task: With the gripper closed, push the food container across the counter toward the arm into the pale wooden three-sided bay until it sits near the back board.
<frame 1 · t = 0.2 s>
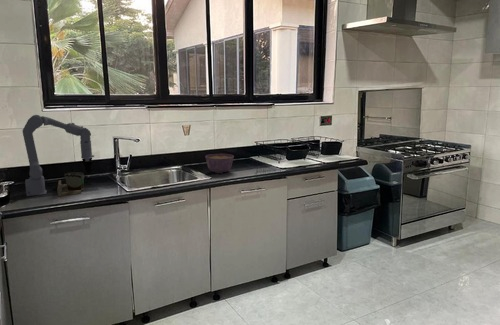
hand: (88, 171, 222), 10 cm above the worktop, tool pointing down, fingers open, 7 cm apart
food container: (78, 190, 219), on the worktop
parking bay: (70, 190, 217), on the worktop
bowl of food: (219, 172, 264), on the worktop
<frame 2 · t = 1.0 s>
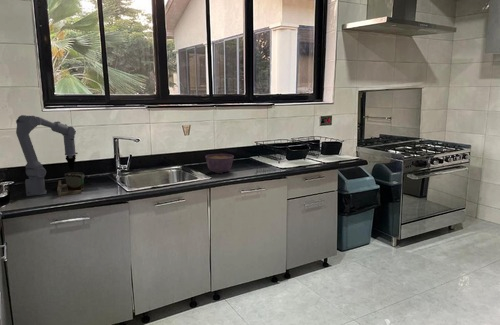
hand: (71, 167, 229), 10 cm above the worktop, tool pointing down, fingers open, 6 cm apart
nothing on the worktop moved.
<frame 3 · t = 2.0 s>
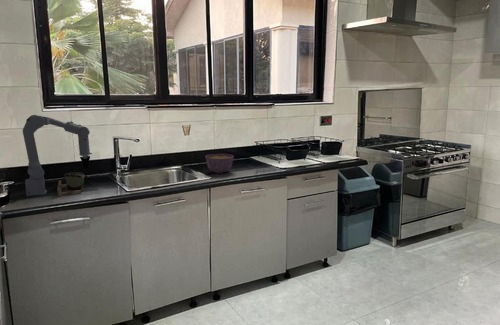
hand: (86, 168, 228), 11 cm above the worktop, tool pointing down, fingers closed
nothing on the worktop moved.
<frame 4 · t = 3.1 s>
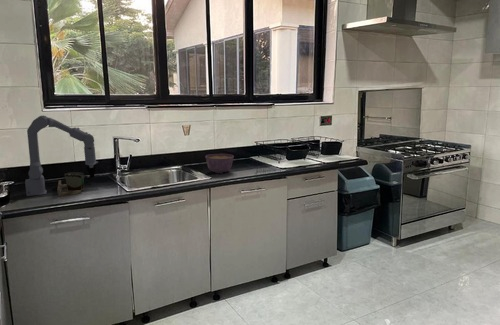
hand: (92, 177, 221), 7 cm above the worktop, tool pointing down, fingers closed
nothing on the worktop moved.
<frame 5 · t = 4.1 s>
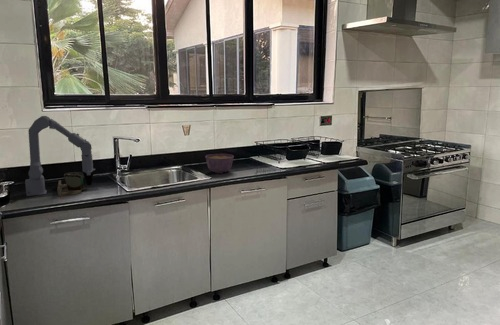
hand: (89, 184, 221), 2 cm above the worktop, tool pointing down, fingers closed
food container: (78, 189, 219), on the worktop, touching gripper
everything else where it was.
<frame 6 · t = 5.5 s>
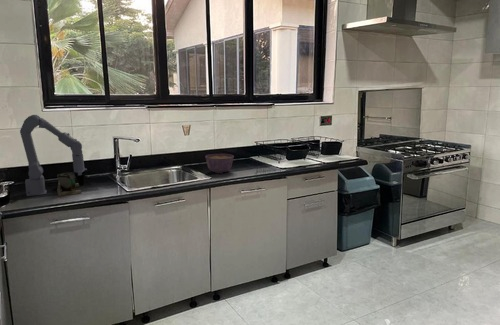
hand: (81, 184, 219), 3 cm above the worktop, tool pointing down, fingers open, 4 cm apart
food container: (71, 190, 216), touching gripper, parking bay
everything else where it was.
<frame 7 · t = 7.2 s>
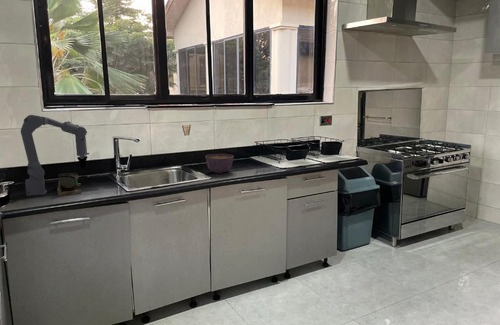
hand: (83, 168, 227), 10 cm above the worktop, tool pointing down, fingers closed
food container: (72, 191, 217), on the worktop
everything else where it was.
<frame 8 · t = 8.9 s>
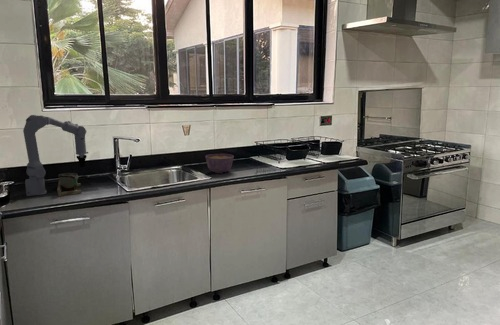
hand: (82, 167, 231), 10 cm above the worktop, tool pointing down, fingers closed
nothing on the worktop moved.
at the end: food container 0.8 cm from the target spot, on the worktop; food container tilted 0° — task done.
